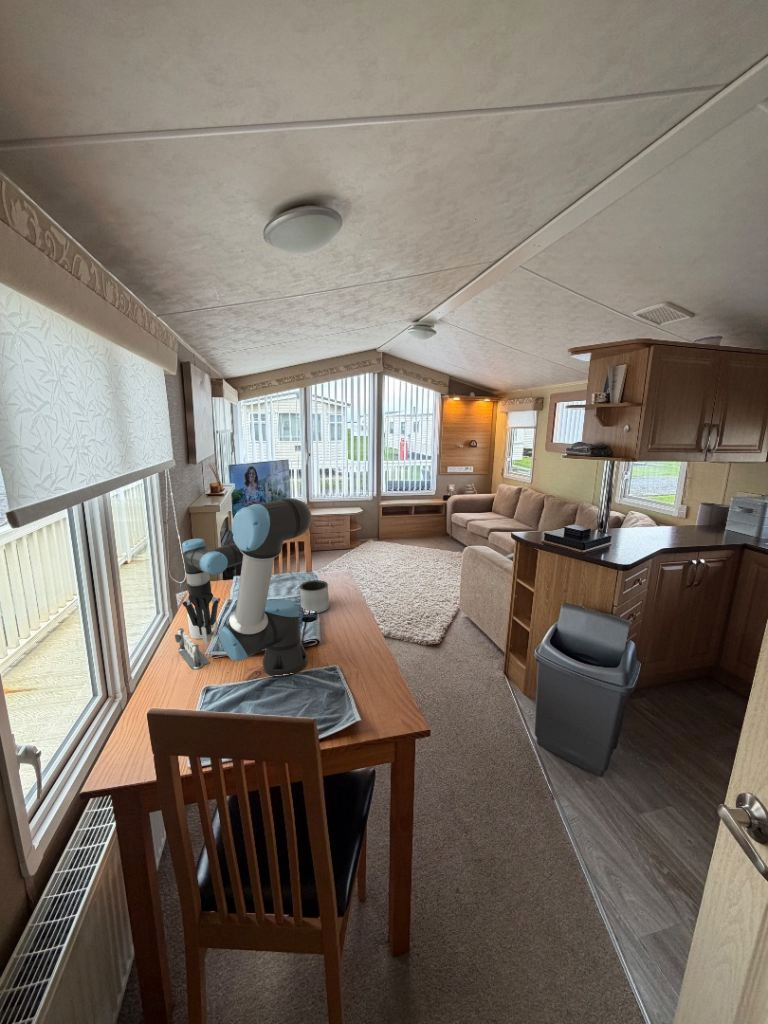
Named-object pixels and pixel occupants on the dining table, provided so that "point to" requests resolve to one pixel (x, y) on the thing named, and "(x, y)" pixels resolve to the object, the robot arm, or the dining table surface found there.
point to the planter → (314, 595)
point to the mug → (195, 629)
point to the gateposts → (195, 648)
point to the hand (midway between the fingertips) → (207, 642)
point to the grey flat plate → (190, 660)
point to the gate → (188, 644)
